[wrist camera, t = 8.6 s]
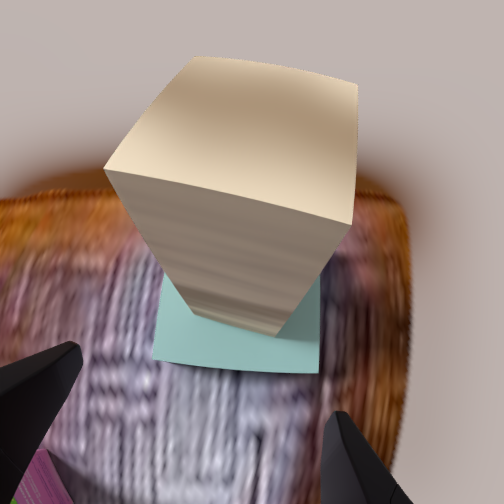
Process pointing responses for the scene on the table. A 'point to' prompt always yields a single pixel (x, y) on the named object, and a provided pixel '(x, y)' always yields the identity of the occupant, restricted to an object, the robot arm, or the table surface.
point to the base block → (237, 338)
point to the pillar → (242, 185)
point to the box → (41, 483)
